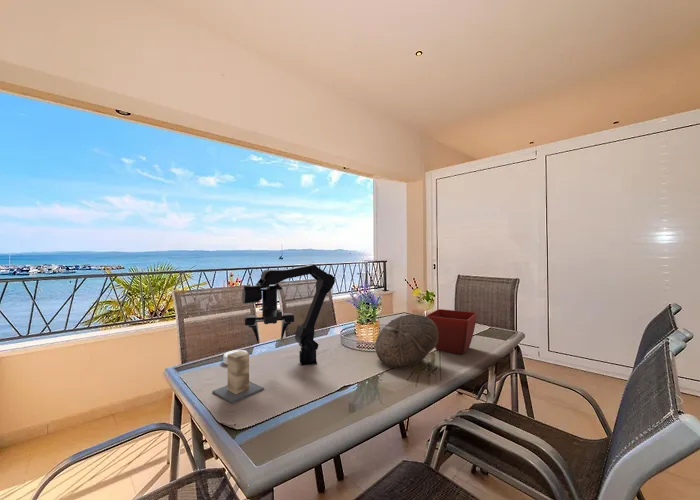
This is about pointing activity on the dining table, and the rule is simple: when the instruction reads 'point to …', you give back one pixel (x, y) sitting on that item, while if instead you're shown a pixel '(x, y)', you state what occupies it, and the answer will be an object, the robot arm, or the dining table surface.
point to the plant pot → (454, 329)
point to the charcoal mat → (233, 397)
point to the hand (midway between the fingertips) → (269, 340)
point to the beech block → (238, 372)
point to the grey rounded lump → (406, 341)
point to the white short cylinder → (230, 353)
